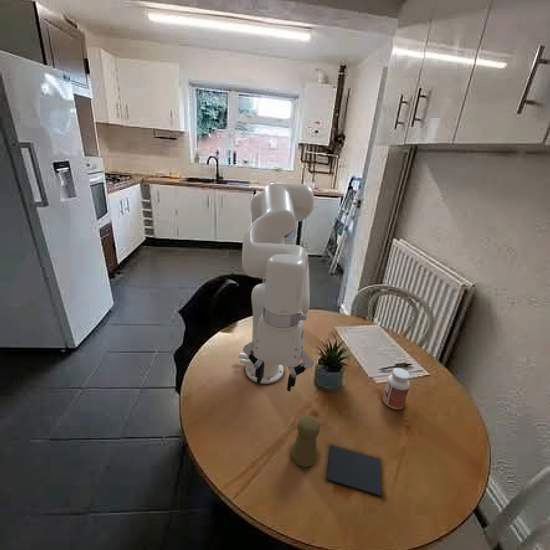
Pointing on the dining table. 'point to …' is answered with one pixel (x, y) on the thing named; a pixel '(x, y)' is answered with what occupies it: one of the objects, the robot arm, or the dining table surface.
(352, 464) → the mat
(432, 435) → the dining table surface
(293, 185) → the robot arm
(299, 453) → the olive green waisted cylinder
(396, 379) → the pill bottle
